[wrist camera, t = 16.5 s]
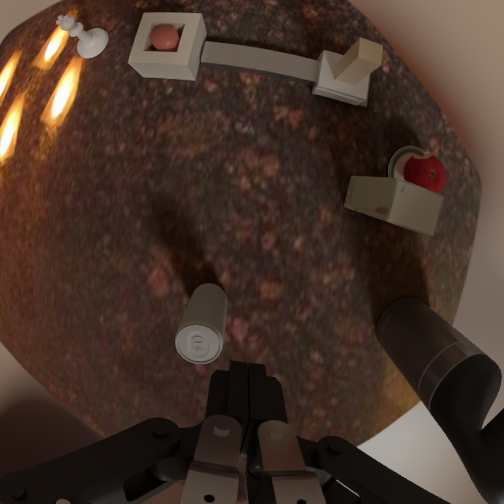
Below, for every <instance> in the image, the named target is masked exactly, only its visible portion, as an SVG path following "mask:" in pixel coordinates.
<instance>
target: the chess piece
mask: <svg viewBox="0 0 504 504" xmlns="http://www.w3.org/2000/svg"><path fill="white" fill-rule="evenodd" d="M56 23H57V24H60V23H61V29H62V30H65V31H69V35H70V36H71V37H75V36H78V38H79V39H80V40H79V42H78V44H77V51H78V53H79V54H80V56H82V57H83V58H92V57H94V56H96V55H98V54H99V53H101V52H102V51H103V49H104V48H105V47H106V45H107V42H108V34H107V32H106V31H105V30H103V29H101V28H93V29H91V30H89V31H87V32H86V31H84V30H82V29H83V25H82V23H76V22H75V19H74V17H71V16H69V15H67V16H65V17H63V16H62V15H60V16H59V17H58V20H57V21H56Z"/></svg>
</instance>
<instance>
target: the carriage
mask: <svg viewBox="0 0 504 504" xmlns="http://www.w3.org/2000/svg"><path fill="white" fill-rule="evenodd" d="M382 50H383V45H380V44H378V43H375V42H372V41H369V40H367V39H364V38H361V37H360V38H359V39H358V40H357V41H356V42H355V44H354V45H353V46H352V47H351V48H350V49H349V50H348V51H347V52H346V53H345V54H344V55H340V54H337V53H334V52H330V51H327V50H323V52H322V53H321V54H320V56H319V57H318V60H317V61H320V63H319V69H318V75H317V82H316V85H315V86H314V87H313V90H312V93H313V94H317V95H321V96H325V97H328V98H332V99H336V100H339V101H343V102H346V103H349V104H353V105H356V106H357V105H359V104H361V103H362V102H363V101H365V100H366V99H367V91H368V83H369V74H370V73H371V72H373V71H374V70H376V69H377V68H378V67H380V66H381V62H382Z"/></svg>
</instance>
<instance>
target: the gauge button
mask: <svg viewBox="0 0 504 504" xmlns="http://www.w3.org/2000/svg"><path fill="white" fill-rule="evenodd" d="M180 40H181V39H180V37H179V35H178V33H177V31H176V29H175V28H174V27H172V26H168V25H165V26H161V27H159V28H157V29H156V30H155V31H154V32H153V33H152V35H151V42H152V44H153V45H154V46H155V48H156V49H157V51H158V52H177V50H178V47H179V43H180Z"/></svg>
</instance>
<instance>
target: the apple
mask: <svg viewBox="0 0 504 504" xmlns="http://www.w3.org/2000/svg"><path fill="white" fill-rule="evenodd" d="M388 178H399V179H401V180H404V181H407V182H410V183H412V184H415V185H417V186H420V187H423V188H425V189H427V190H430V191H432V192H435V193H437V194H438V193H439V192H440V191H441V190H442V188H443V187H444V185H445V182H446V173H445V169H444V167H443V165H442V163H441V162H440V161H439V160H438V159H437V158H436V157H435V156H433V155H429V154H427V153H426V152H424V151H423V150H422V149H420V148H418V147H414V146H406V147H403V148H401V149H399V150H398V151H397V152H396V153H395V154H394V155H393V156H392V158H391V160H390V163H389V167H388Z"/></svg>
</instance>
